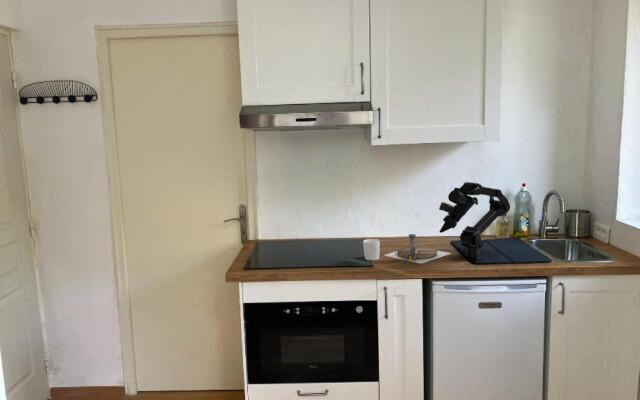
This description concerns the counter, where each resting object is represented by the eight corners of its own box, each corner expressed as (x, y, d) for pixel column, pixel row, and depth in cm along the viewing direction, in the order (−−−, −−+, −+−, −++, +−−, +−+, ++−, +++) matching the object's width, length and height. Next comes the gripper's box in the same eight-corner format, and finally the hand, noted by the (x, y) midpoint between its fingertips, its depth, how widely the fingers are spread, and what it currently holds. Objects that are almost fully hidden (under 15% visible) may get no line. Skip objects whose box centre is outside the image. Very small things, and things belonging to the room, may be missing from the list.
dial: (443, 257, 235) (442, 233, 233) (403, 260, 233) (402, 236, 231) (430, 247, 254) (429, 226, 252) (393, 250, 252) (392, 228, 250)
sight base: (451, 256, 242) (451, 248, 242) (421, 266, 228) (420, 258, 227) (414, 249, 260) (414, 242, 259) (383, 258, 245) (383, 250, 245)
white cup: (381, 259, 244) (380, 238, 242) (379, 263, 236) (378, 242, 235) (364, 259, 245) (364, 239, 244) (362, 263, 238) (362, 242, 236)
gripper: (451, 193, 240) (430, 217, 245) (446, 198, 223) (423, 224, 228) (469, 208, 238) (448, 232, 243) (465, 215, 221) (442, 240, 226)
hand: (440, 232), depth 235 cm, fingers closed
